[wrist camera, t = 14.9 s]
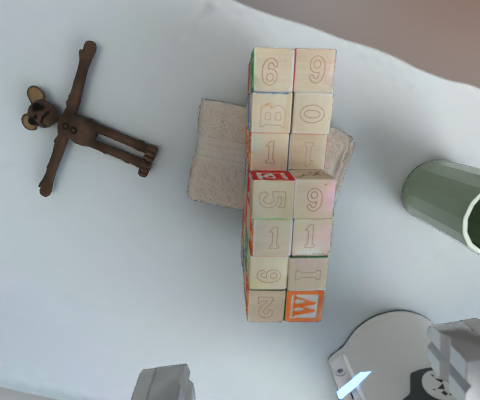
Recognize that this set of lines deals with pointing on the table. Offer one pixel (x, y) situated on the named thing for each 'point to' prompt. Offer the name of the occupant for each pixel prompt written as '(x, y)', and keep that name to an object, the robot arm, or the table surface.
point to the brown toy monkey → (79, 126)
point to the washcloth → (241, 155)
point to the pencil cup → (446, 200)
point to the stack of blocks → (287, 184)
